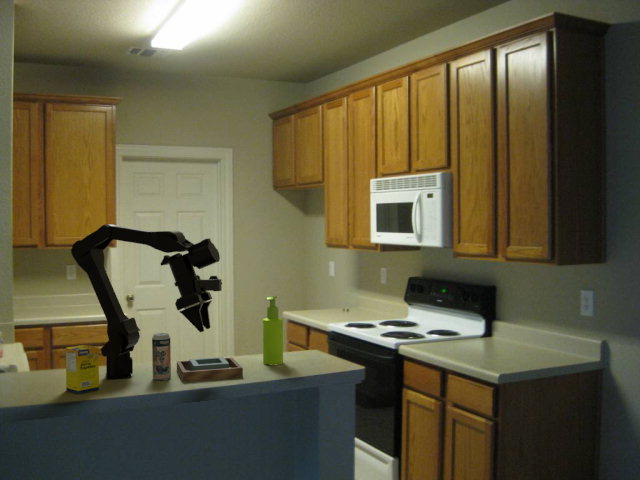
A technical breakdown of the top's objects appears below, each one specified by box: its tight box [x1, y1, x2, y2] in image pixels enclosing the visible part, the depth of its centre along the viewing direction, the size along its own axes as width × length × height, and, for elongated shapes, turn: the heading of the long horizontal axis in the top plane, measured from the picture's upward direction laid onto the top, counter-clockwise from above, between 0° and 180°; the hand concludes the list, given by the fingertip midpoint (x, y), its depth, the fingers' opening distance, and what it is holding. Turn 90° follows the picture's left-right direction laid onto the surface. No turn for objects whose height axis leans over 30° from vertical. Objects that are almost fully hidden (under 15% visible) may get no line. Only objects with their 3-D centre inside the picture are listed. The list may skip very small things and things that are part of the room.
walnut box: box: [176, 356, 244, 383], centre depth 190 cm, size 16×15×2 cm
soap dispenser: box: [262, 295, 284, 366], centre depth 203 cm, size 6×7×20 cm
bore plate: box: [189, 356, 229, 371], centre depth 190 cm, size 10×10×3 cm
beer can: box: [151, 332, 172, 381], centre depth 184 cm, size 5×5×12 cm
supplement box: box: [65, 344, 100, 395], centre depth 172 cm, size 6×6×11 cm
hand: (205, 330), depth 182 cm, fingers open, 9 cm apart
